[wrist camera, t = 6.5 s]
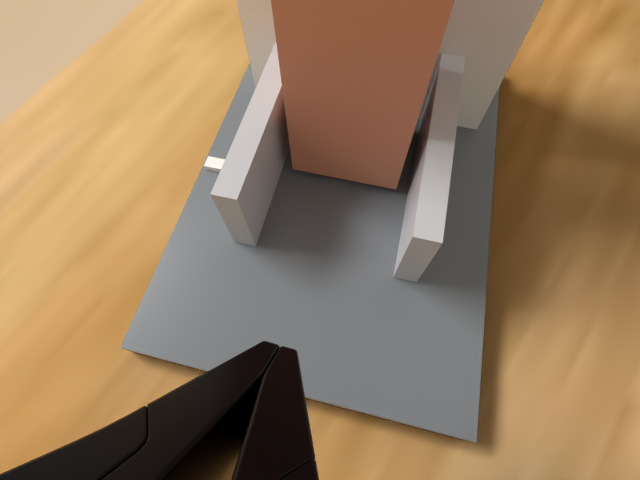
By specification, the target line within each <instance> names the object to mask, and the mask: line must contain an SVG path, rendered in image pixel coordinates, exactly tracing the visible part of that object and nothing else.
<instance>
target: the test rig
mask: <svg viewBox="0 0 640 480" xmlns="http://www.w3.org/2000/svg"><path fill="white" fill-rule="evenodd" d="M543 2H544V0H455V1H454V4H453V7H452V10H451V14H450V17H449V20H448V23H447V27H446V30H445V33H444V36H443V39H442V43H441V46H440V49H439V52H438V56H437V59H436V62H435V65H434V69H433V72H432V75H431V78H430V82H429V85H428V88H427V91H426V94H425V98H424V101H423V104H422V107H421V111H420V114H419V117H418V120H417V124H416V127H415V130H414V133H413V136H412V140H411V143H410V146H409V149H408V153H407V156H406V159H405V162H404V166H403V169H402V172H401V175H400V178H399V182H398V185H397V188H396V190H395V189H390V188H385V187H380V186H375V185H370V184H365V183H360V182H355V181H350V180H345V179H340V178H335V177H330V176H325V175H320V174H314V173H309V172H304V171H299V170H294V169H293V168H292V160H291V153H290V145H289V137H288V129H287V122H286V114H285V106H284V98H283V91H282V83H281V75H280V67H279V60H278V52H277V44H276V36H275V29H274V21H273V13H272V5H271V0H237V4H238V9H239V13H240V18H241V23H242V28H243V32H244V37H245V42H246V47H247V51H248V56H249V61H250V64H249V66H248V68H247V70H246V72H245V75H244V77H243V79H242V81H241V83H240V86H239V88H238V90H237V92H236V94H235V97H234V99H233V101H232V103H231V105H230V108H229V110H228V112H227V114H226V116H225V119H224V121H223V123H222V125H221V127H220V130H219V132H218V134H217V136H216V138H215V140H214V143H213V145H212V147H211V149H210V151H209V154H208V156H207V158H206V160H205V162H204V165H203V167H202V169H201V171H200V173H199V176H198V178H197V180H196V182H195V184H194V187H193V189H192V191H191V193H190V195H189V198H188V200H187V202H186V204H185V206H184V209H183V211H182V213H181V215H180V217H179V220H178V222H177V224H176V226H175V228H174V231H173V233H172V235H171V237H170V239H169V242H168V244H167V246H166V248H165V250H164V253H163V255H162V257H161V259H160V261H159V264H158V266H157V268H156V270H155V272H154V275H153V277H152V279H151V281H150V283H149V286H148V288H147V290H146V292H145V294H144V297H143V299H142V301H141V303H140V305H139V308H138V310H137V312H136V314H135V316H134V319H133V321H132V323H131V325H130V327H129V330H128V332H127V334H126V336H125V338H124V340H123V343H122V345H121V347H120V348H122V349H125V350H128V351H131V352H135V353H138V354H142V355H146V356H150V357H153V358H157V359H161V360H165V361H168V362H172V363H176V364H180V365H183V366H187V367H191V368H195V369H198V370H202V371H206V372H207V371H209V370H211V369H213V368H215V367H216V366H218V365H220V364H222V363H224V362H226V361H227V360H229V359H231V358H233V357H235V356H236V355H238V354H240V353H242V352H244V351H246V350H247V349H249V348H251V347H253V346H255V345H256V344H258V343H260V342H262V341H268V342H271V343H274V344H278V345H279V347H281V346H285V347H288V348H292V349H295V350H297V352H298V357H299V363H300V369H301V375H302V381H303V387H304V394H305V398H307V399H311V400H315V401H319V402H322V403H326V404H330V405H334V406H337V407H341V408H345V409H349V410H352V411H356V412H360V413H364V414H367V415H371V416H375V417H379V418H382V419H386V420H390V421H394V422H397V423H401V424H405V425H409V426H412V427H416V428H420V429H424V430H427V431H431V432H435V433H439V434H442V435H446V436H450V437H454V438H458V439H461V440H465V441H470V442H477V428H478V413H479V397H480V382H481V366H482V351H483V335H484V320H485V304H486V289H487V273H488V258H489V242H490V227H491V211H492V196H493V180H494V164H495V149H496V133H497V118H498V102H499V87H500V84H501V82H502V80H503V78H504V76H505V75H506V73H507V71H508V69H509V67H510V65H511V63H512V61H513V59H514V57H515V55H516V54H517V52H518V50H519V48H520V46H521V44H522V42H523V40H524V38H525V36H526V34H527V33H528V31H529V29H530V27H531V25H532V23H533V21H534V19H535V17H536V15H537V13H538V12H539V10H540V8H541V6H542V4H543Z"/></svg>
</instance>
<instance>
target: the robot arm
mask: <svg viewBox="0 0 640 480" xmlns="http://www.w3.org/2000/svg"><path fill="white" fill-rule="evenodd" d="M231 478H232V479H231ZM0 480H319V477H318V471H317V465H316V461H315V454H314V448H313V442H312V436H311V430H310V424H309V418H308V412H307V406H306V400H305V394H304V387H303V381H302V375H301V369H300V363H299V357H298V352H297V350H295V349H292V348H288V347H285V346H281V347H279V345H278V344H274V343H271V342H268V341H262V342H260V343H258V344H256V345H255V346H253V347H251V348H249V349H247V350H246V351H244V352H242V353H240V354H238V355H236V356H235V357H233V358H231V359H229V360H227V361H226V362H224V363H222V364H220V365H218V366H216V367H215V368H213V369H211V370H209V371H207V372H205V373H204V374H202V375H200V376H198V377H196V378H195V379H193V380H191V381H189V382H187V383H185V384H184V385H182V386H180V387H178V388H176V389H175V390H173V391H171V392H169V393H167V394H165V395H164V396H162V397H160V398H158V399H156V400H155V401H153V402H151V403H149V404H148V405H147V407H146V406H143V407H141V408H140V409H138V410H136V411H134V412H132V413H131V414H129V415H127V416H125V417H123V418H121V419H119V420H117V421H115V422H113V423H111V424H109V425H108V426H106V427H104V428H102V429H100V430H97V431H95V432H93V433H91V434H89V435H87V436H85V437H82V438H80V439H78V440H76V441H74V442H72V443H70V444H67V445H65V446H63V447H60V448H58V449H56V450H54V451H51V452H49V453H47V454H45V455H42V456H40V457H38V458H36V459H33V460H31V461H29V462H27V463H24V464H22V465H20V466H18V467H15V468H13V469H11V470H8V471H6V472H4V473H2V474H0Z"/></svg>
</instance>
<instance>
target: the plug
mask: <svg viewBox="0 0 640 480" xmlns="http://www.w3.org/2000/svg"><path fill="white" fill-rule="evenodd" d="M454 1H455V0H271V5H272V13H273V21H274V29H275V36H276V44H277V52H278V60H279V67H280V75H281V83H282V91H283V98H284V106H285V114H286V122H287V129H288V137H289V145H290V153H291V160H292V168H293V169H294V170H299V171H304V172H309V173H314V174H320V175H325V176H330V177H335V178H340V179H345V180H350V181H355V182H360V183H365V184H370V185H375V186H380V187H385V188H390V189H395V190H396V188H397V185H398V182H399V178H400V175H401V172H402V169H403V166H404V162H405V159H406V156H407V153H408V149H409V146H410V143H411V140H412V136H413V133H414V130H415V127H416V124H417V120H418V117H419V114H420V111H421V107H422V104H423V101H424V98H425V94H426V91H427V88H428V85H429V82H430V78H431V75H432V72H433V69H434V65H435V62H436V59H437V56H438V52H439V49H440V46H441V43H442V39H443V36H444V33H445V30H446V27H447V23H448V20H449V17H450V14H451V10H452V7H453V4H454Z"/></svg>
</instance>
